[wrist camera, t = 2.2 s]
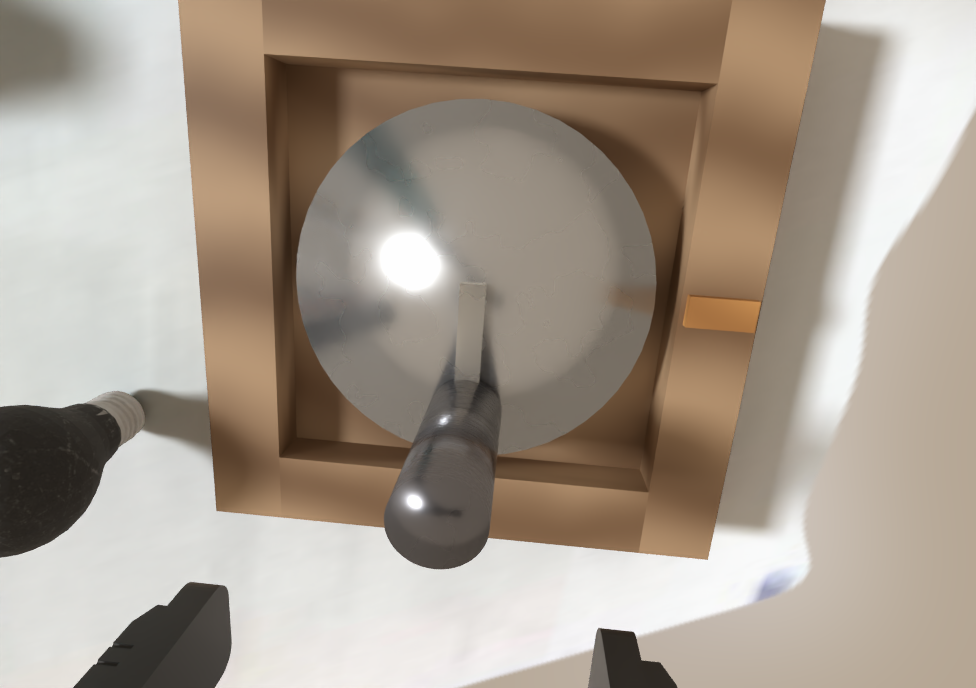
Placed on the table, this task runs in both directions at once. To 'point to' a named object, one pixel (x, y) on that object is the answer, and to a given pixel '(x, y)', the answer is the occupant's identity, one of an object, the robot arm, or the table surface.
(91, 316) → the table surface
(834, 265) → the table surface
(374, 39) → the brown flat square frame
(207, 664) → the robot arm
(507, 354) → the dial
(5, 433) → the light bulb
